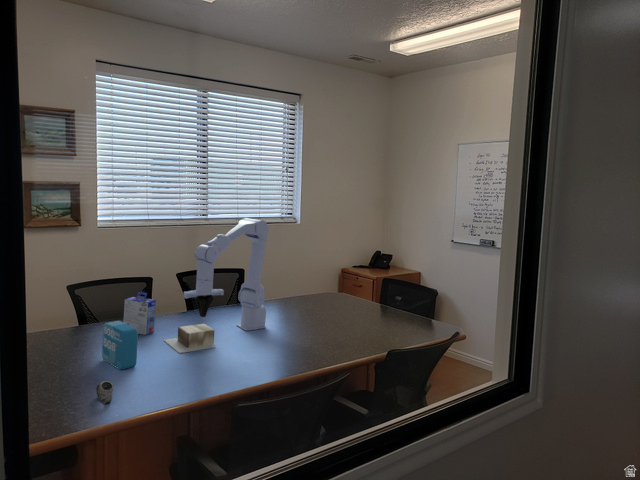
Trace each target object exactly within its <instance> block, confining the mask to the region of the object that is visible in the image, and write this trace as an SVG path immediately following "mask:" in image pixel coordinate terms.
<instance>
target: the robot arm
mask: <svg viewBox="0 0 640 480" xmlns="http://www.w3.org/2000/svg"><path fill="white" fill-rule="evenodd" d="M268 231H269V225H268V223H267V222H266V221H265V220H263V219H254V218H249V217H243V218H242V219H241V220H238V224H236V226H234V227H233V228H231V229H230V230H229V231H228V232H227V233H225V234H223V233H221V234H220V233H218V234H216V236H215V237H214V238H213V239H211V240H208V241H207V242H206V243H205V244H200V245H199V246H197V247H196V248H195V251H194V253H193V256H194V258H195V260H196V261H195V264H196V283H195V289H194V290H188V291H183V294H182V295H183V298H184V299H190V298H193V299H194V300H195V302H196V304H197V308H198V312H199V316H200V317H202V318H205V317H206V316H207V314H208V310H209V308H210V305H212V302H213V301H214V297H213V296H224V292H225V290H224V289H222V288H213V287H214V270H215V262H216V261H217V260H218V258H219V256H220V255H221V254H222V253H223V252H225V251H226V250H227V249H228V248H230V247H231V243H232V242H233V241H235V240H237V239H239V238H240V237H242V236H246V237H247V238H249V240H250V241H251V250H250V256H249V264H248V270H247V275H246V276H247V277H246V281H245V282H243V283H242V284H241V286H240V290H239V292H238V296H237V297H238V301H239V302H240V305H241V315H240V323H236V324H235V325H236V326H237V327H238V328H240V329H242V330H244V331H246V332H248V331H255V330H261V329H266V328H267V326H266V317H267V315H266V314H267V310H266V306H264V302H265V300H266V295H265V291H266V288H265V287H264V285H263V284H262V283H261V279H262V272H263V266H264V260H265V259H264V258H265V254H266V246H267V238H268Z"/></svg>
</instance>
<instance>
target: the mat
mask: <svg viewBox="0 0 640 480" xmlns="http://www.w3.org/2000/svg"><path fill="white" fill-rule="evenodd" d="M163 342H164V343H166V344H167V345H168V346H169V347H171V348H172V349H173V350H174V351H176V352H177V353H178V354H184V353H185V354H186V353H191V352H195V351H203V350H208V349H213V348H216V346H215V345H214V344H208V345H202V346H196V347H189V348H186V347H185V346H184V345H182V344H181V343H180V342H178V337H174V338H168V339H167V338H166V339H163Z"/></svg>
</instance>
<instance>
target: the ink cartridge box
mask: <svg viewBox="0 0 640 480" xmlns="http://www.w3.org/2000/svg"><path fill="white" fill-rule="evenodd" d="M142 295H144V296H142ZM147 296H148V293H147V292H145V291H144V292H143V291H138V292H137V295H136V297H135V296H131V297H128V298H125V299H124V307H123V308H124V309H123V323H125V324H127V325H129V326H131V327H134V328H136V330H137V332H138V335H144V336H145V335H146V336H147V335H150V334H152V333H154V332H155V319H156V317H155V316H156V314H155V313H156V303H157V302H156V301H157V300H156V299H154V298H153V299H151V298H147Z"/></svg>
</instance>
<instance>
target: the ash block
mask: <svg viewBox="0 0 640 480" xmlns="http://www.w3.org/2000/svg"><path fill="white" fill-rule="evenodd" d="M215 332H216V331H215V329H213V328H212V327H211V326H209V325H208V324H207V323H206V324H205V323H201V324H200V323H199V324H198V323H197V324H192V325H185V326H184V325H183V326H178V328H177V338H178V342H180V343H181V344H182V345H184V346H185V347H186V348H189V347H196V346H202V345H208V344H212V345H214V344H215Z"/></svg>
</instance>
